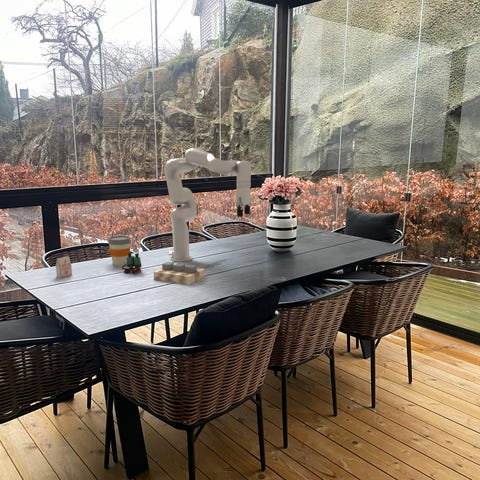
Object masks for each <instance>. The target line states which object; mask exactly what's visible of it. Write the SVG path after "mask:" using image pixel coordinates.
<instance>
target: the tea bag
mask: <svg viewBox="0 0 480 480" xmlns="http://www.w3.org/2000/svg"><path fill="white" fill-rule="evenodd" d="M55 270H56V273H55V274H56V277H57V278H59V279H61V278H65V277H66V278H67V277H69V276H73V270H72V262H71V259H70V256H64V257H60V258H59V257H58V258H57V259H56V263H55Z"/></svg>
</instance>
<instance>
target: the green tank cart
mask: <svg viewBox="0 0 480 480" xmlns="http://www.w3.org/2000/svg"><path fill="white" fill-rule="evenodd" d="M142 266H143V265H142V261H141V257H140V256H139V252H136V253H135V254H134V256H133V255H132V252H131V251H130V252H128V257H127V263H126V264H124V265H121V269H122V270H123V273H124V274H132V275H135V274H137V273H139V272H142V269H141V268H142Z"/></svg>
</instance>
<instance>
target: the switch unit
mask: <svg viewBox="0 0 480 480" xmlns="http://www.w3.org/2000/svg"><path fill="white" fill-rule="evenodd" d="M205 271H206V269H205V268H199V267H197V272H195V273H193V274H192V273H185V271H182V272H176V271H174V269H172V270H170V271H169V270H162V268H160V269H157V270H155V271H153V280H157V281H163V282H169V283H178V284H185V285H190V284H192V283H194V282H197V281H199V280H200V279H202V278H205V277H206V272H205Z"/></svg>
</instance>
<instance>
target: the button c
mask: <svg viewBox="0 0 480 480" xmlns="http://www.w3.org/2000/svg"><path fill="white" fill-rule="evenodd" d="M197 268H198V265H193V264H188V265H185V273H192V274H193V273H195V272H197Z"/></svg>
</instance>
